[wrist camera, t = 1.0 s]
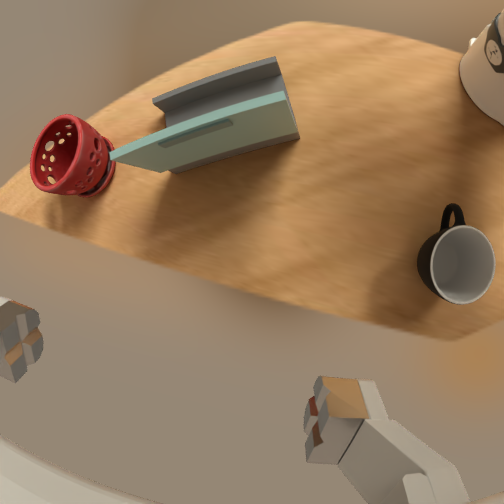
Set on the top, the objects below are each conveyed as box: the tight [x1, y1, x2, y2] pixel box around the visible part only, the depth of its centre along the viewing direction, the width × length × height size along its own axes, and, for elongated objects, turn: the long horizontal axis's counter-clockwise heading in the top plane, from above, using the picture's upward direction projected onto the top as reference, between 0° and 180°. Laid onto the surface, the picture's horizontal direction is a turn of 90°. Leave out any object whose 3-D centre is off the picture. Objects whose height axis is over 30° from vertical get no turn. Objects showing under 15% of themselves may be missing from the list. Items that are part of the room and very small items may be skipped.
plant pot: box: [30, 114, 116, 197], centre depth 48 cm, size 13×13×12 cm
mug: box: [417, 203, 495, 304], centre depth 35 cm, size 12×9×10 cm
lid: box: [110, 91, 298, 173], centre depth 36 cm, size 20×12×1 cm
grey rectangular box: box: [152, 56, 300, 174], centre depth 45 cm, size 20×12×5 cm, turn 102°
